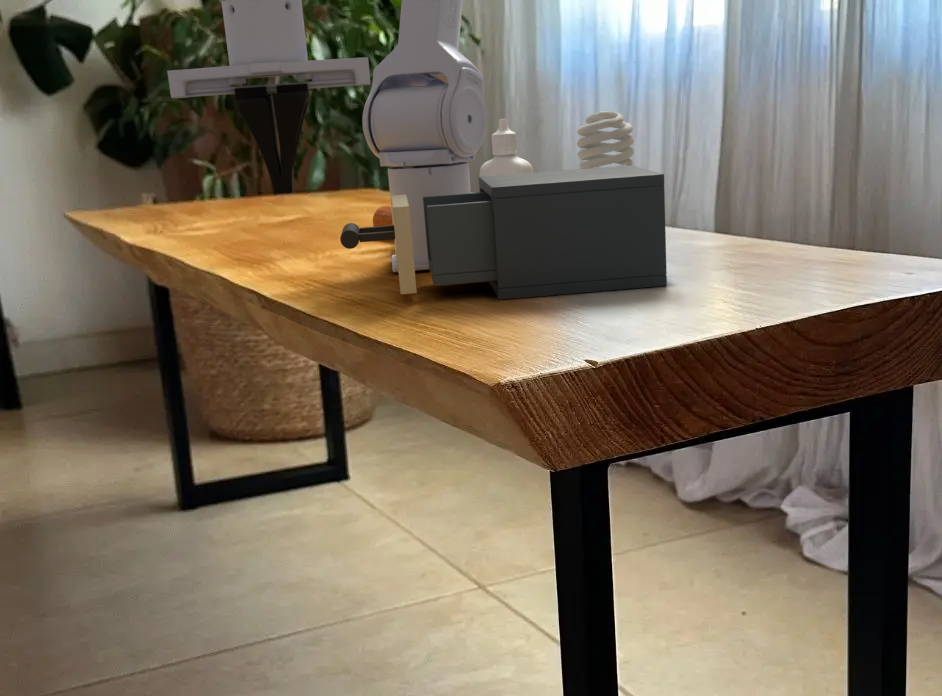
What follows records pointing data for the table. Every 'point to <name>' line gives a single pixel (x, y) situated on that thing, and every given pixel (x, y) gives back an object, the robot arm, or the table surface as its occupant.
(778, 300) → the table surface
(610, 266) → the cabinet
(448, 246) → the drawer
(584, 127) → the light bulb
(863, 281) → the table surface
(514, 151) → the eye dropper bottle
